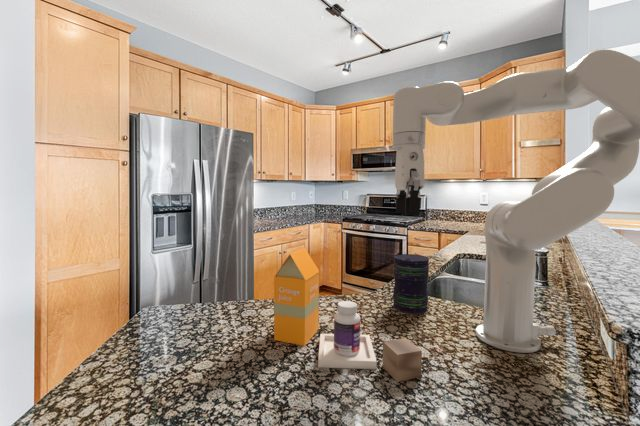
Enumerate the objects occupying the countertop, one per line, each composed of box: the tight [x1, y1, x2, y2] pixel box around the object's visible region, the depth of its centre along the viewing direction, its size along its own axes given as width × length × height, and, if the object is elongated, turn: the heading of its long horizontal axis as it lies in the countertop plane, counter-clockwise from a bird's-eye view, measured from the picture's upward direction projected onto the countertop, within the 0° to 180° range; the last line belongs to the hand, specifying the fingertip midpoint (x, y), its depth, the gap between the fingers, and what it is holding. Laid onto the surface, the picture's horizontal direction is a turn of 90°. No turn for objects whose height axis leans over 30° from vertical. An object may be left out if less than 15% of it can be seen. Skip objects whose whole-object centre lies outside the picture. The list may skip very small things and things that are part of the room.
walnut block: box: [382, 337, 423, 383], centre depth 56 cm, size 5×5×5 cm
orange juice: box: [273, 247, 320, 347], centre depth 71 cm, size 8×9×20 cm
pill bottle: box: [333, 300, 361, 356], centre depth 63 cm, size 5×5×10 cm
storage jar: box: [392, 253, 430, 315], centre depth 89 cm, size 10×10×15 cm
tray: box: [317, 333, 378, 370], centre depth 63 cm, size 11×11×2 cm
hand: (406, 213), depth 74 cm, fingers open, 9 cm apart
